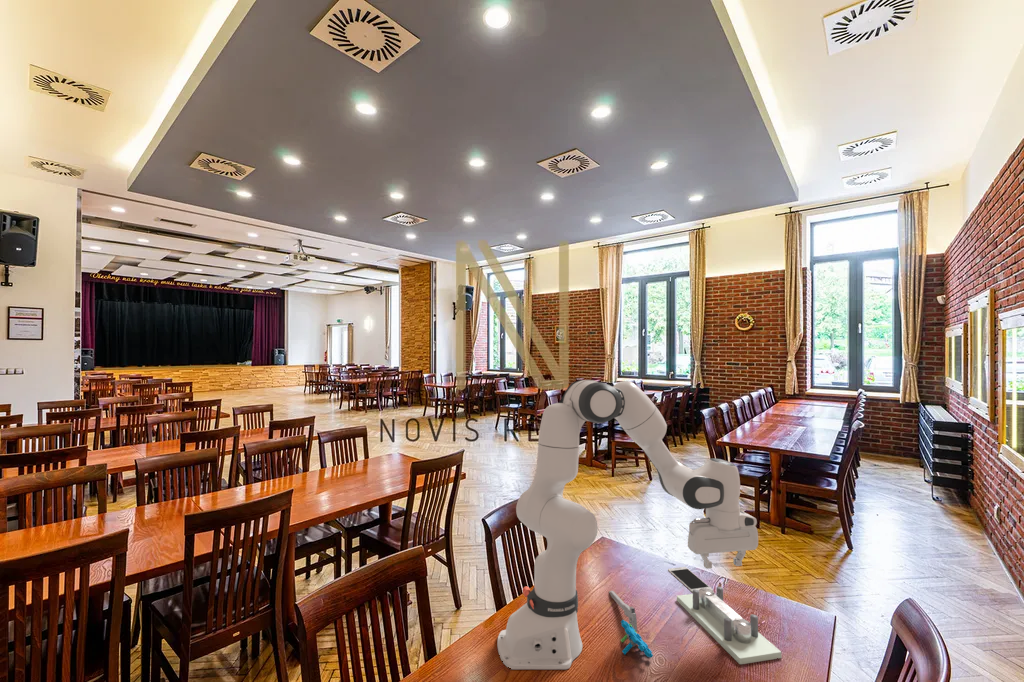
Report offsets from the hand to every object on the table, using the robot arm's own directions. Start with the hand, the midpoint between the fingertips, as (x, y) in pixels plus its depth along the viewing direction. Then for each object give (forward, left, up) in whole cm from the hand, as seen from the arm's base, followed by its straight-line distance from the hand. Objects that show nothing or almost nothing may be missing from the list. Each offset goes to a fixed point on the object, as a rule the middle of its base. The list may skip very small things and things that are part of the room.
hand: (722, 566), depth 123 cm
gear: (-29, -4, -17) cm, 34 cm away
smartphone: (+5, +24, -18) cm, 30 cm away
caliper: (-25, +13, -18) cm, 33 cm away
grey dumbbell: (0, 0, -16) cm, 16 cm away
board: (0, 0, -17) cm, 17 cm away
